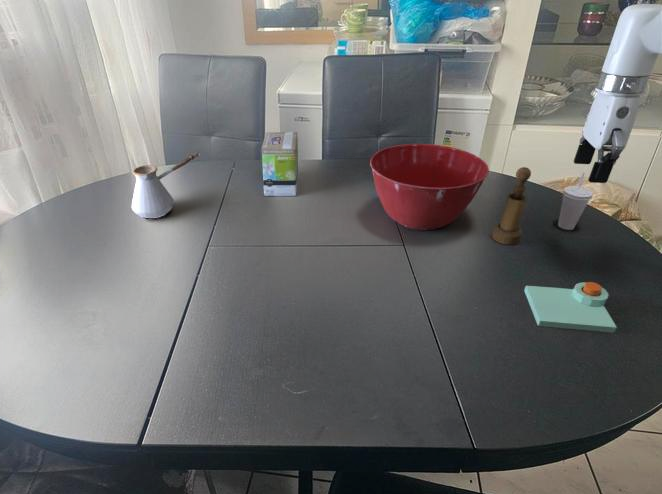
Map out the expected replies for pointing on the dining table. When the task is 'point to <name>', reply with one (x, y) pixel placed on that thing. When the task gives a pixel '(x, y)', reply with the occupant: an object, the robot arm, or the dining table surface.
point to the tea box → (280, 163)
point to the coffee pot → (153, 191)
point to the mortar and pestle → (513, 212)
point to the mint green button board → (570, 308)
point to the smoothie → (573, 205)
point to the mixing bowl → (426, 183)
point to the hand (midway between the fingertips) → (588, 172)
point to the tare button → (592, 289)
